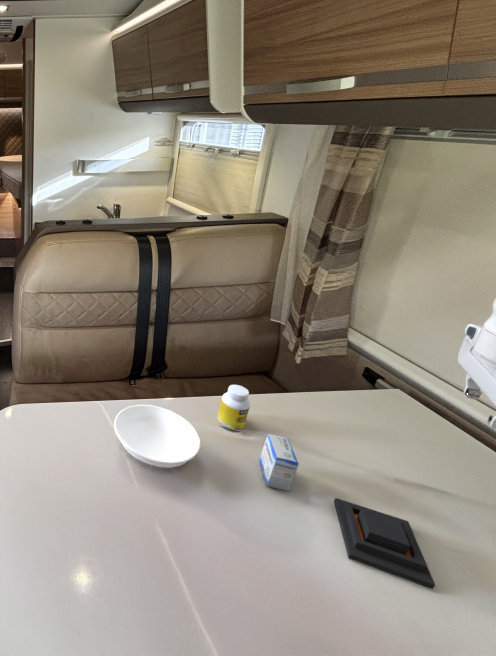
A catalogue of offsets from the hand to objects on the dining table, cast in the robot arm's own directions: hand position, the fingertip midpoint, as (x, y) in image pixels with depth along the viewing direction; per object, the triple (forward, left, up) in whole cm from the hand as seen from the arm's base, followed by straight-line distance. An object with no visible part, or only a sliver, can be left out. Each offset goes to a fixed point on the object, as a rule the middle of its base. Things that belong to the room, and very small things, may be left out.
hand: (482, 411), depth 81 cm
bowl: (+55, +10, -26) cm, 62 cm away
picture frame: (+12, +14, -26) cm, 32 cm away
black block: (+12, +14, -25) cm, 31 cm away
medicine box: (+29, +5, -26) cm, 39 cm away
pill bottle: (+38, -9, -26) cm, 47 cm away
